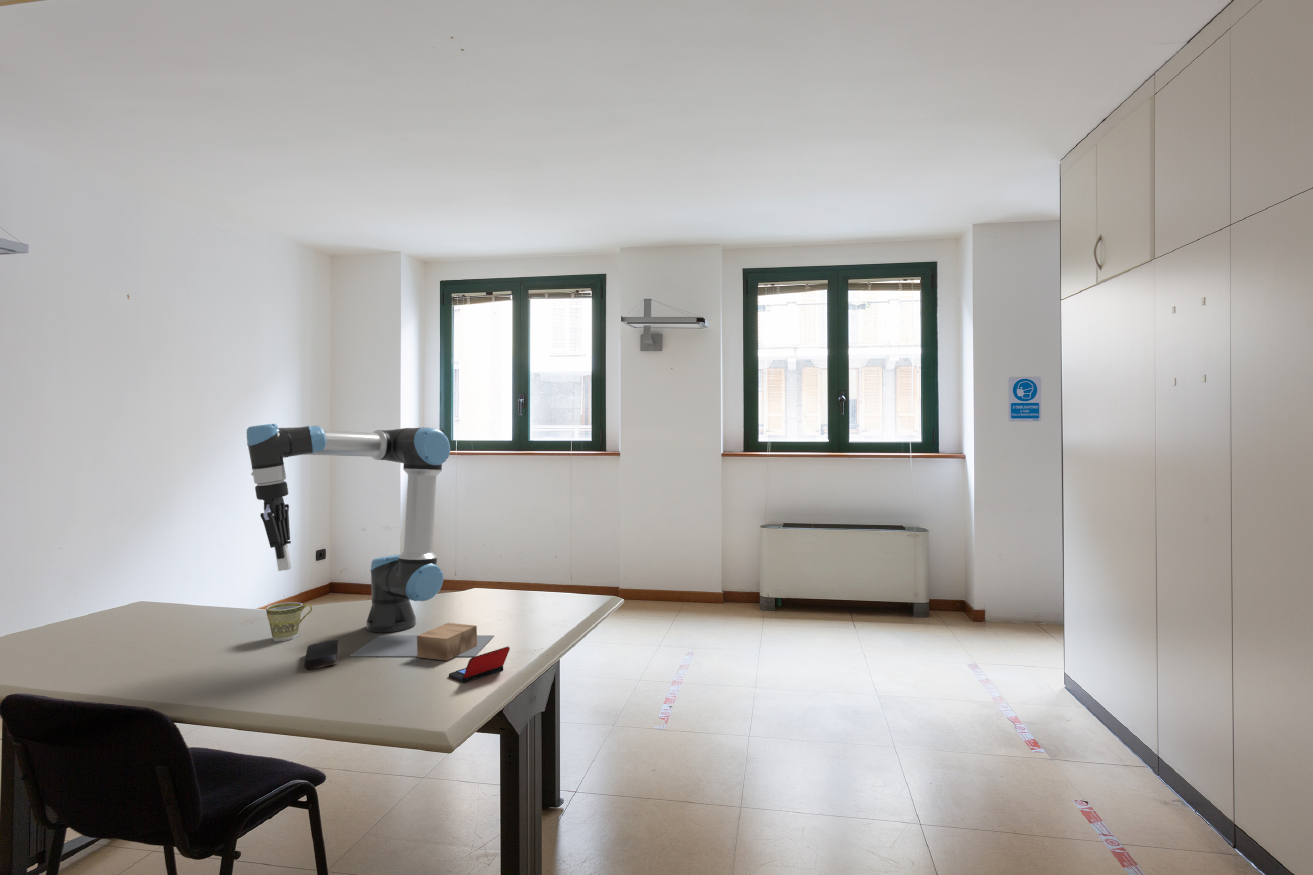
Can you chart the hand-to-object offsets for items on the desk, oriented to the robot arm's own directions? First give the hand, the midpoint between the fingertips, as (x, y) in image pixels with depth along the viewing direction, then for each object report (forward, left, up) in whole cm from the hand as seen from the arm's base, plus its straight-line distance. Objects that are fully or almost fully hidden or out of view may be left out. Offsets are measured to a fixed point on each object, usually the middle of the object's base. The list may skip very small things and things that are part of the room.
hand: (284, 569), depth 193 cm
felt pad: (-21, +30, -27) cm, 45 cm away
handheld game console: (+3, +53, -28) cm, 60 cm away
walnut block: (-9, +36, -24) cm, 44 cm away
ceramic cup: (-30, -16, -27) cm, 44 cm away
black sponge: (-9, +5, -28) cm, 29 cm away
